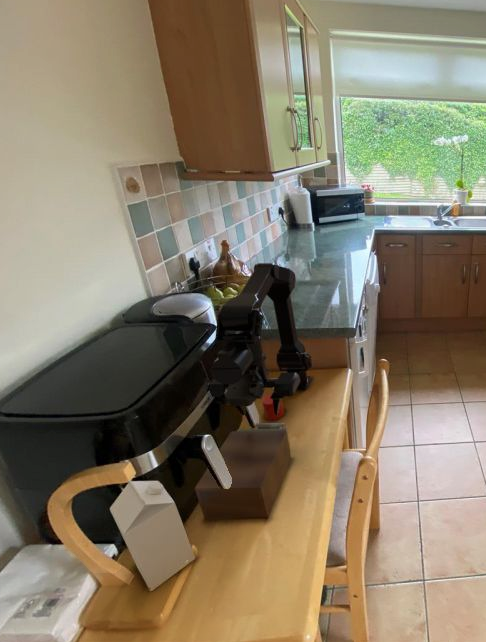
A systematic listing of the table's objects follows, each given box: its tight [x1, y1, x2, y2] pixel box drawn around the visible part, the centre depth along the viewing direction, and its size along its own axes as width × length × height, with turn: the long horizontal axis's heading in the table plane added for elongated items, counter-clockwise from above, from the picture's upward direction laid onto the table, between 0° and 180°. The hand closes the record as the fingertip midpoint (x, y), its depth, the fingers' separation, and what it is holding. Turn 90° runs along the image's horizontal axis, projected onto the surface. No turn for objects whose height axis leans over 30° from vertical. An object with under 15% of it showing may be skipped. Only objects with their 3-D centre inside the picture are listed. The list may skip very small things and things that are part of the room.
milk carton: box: [109, 480, 196, 592], centre depth 64 cm, size 7×7×19 cm
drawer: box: [236, 422, 292, 453], centre depth 85 cm, size 19×11×7 cm, turn 3°
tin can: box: [261, 392, 285, 421], centre depth 104 cm, size 5×5×6 cm
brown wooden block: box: [194, 430, 292, 521], centre depth 81 cm, size 16×13×9 cm
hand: (260, 413), depth 87 cm, fingers open, 7 cm apart
